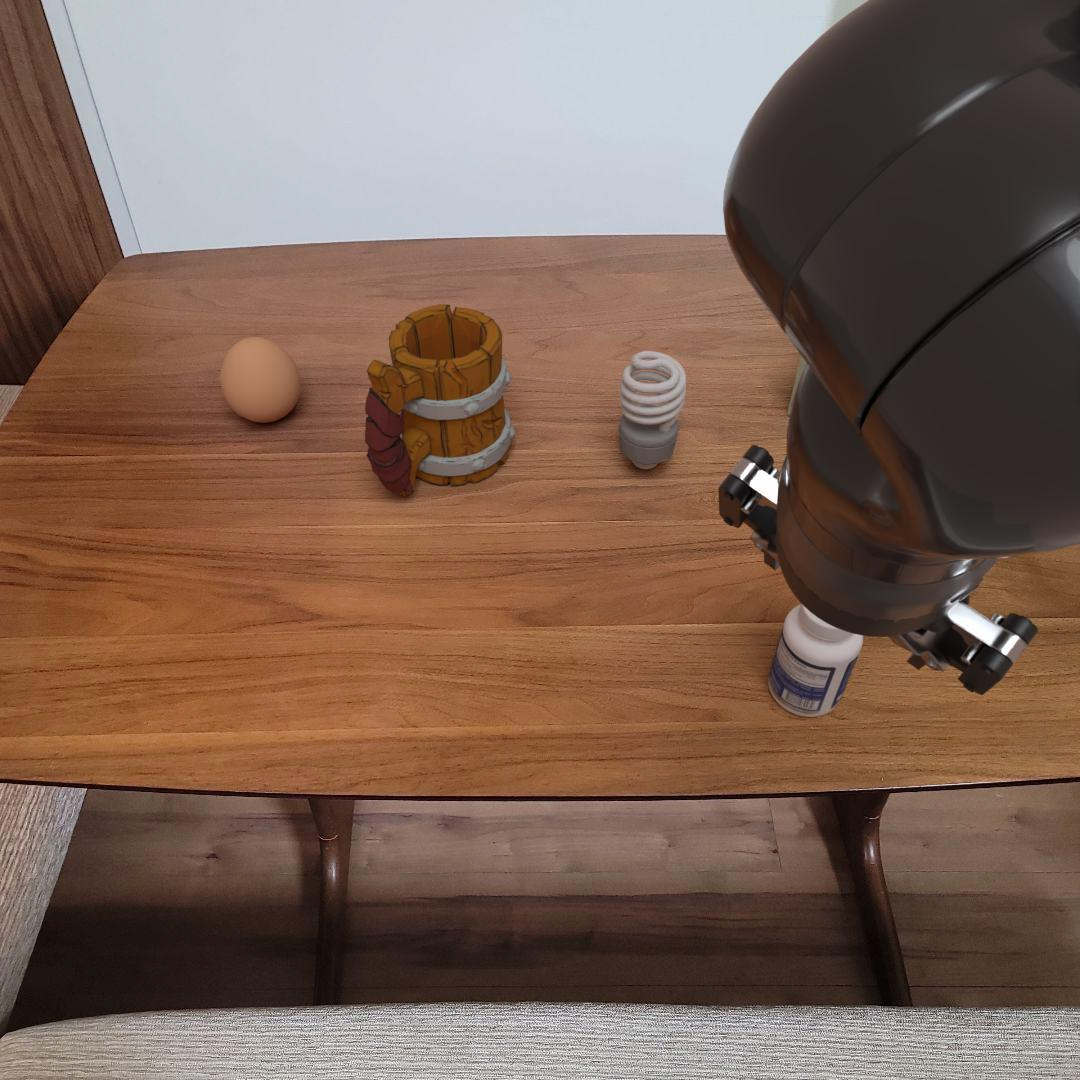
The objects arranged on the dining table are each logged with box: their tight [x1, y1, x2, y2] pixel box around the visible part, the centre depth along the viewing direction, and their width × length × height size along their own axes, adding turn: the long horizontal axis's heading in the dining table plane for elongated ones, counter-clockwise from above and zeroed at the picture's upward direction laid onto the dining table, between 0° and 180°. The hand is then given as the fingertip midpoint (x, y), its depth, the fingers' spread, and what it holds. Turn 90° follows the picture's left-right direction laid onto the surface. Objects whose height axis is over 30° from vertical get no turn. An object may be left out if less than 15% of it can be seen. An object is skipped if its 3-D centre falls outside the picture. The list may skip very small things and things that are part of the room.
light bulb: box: [618, 350, 687, 470], centre depth 82 cm, size 6×6×12 cm
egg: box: [219, 336, 302, 424], centre depth 88 cm, size 7×7×8 cm
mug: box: [364, 303, 516, 497], centre depth 81 cm, size 11×16×15 cm, turn 147°
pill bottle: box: [767, 603, 864, 718], centre depth 65 cm, size 5×5×10 cm
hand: (850, 599), depth 48 cm, fingers open, 8 cm apart
